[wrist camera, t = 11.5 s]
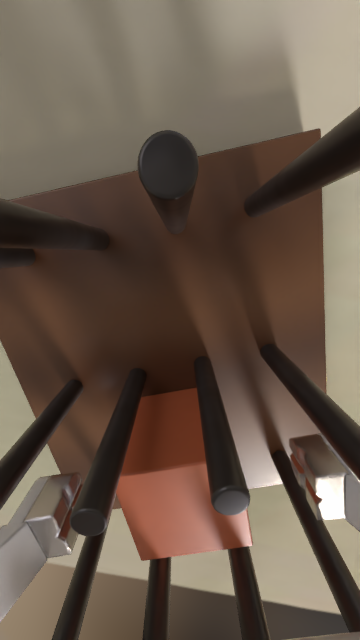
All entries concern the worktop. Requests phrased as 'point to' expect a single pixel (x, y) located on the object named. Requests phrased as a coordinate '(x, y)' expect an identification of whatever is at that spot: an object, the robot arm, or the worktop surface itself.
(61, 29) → the worktop surface
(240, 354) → the dish rack
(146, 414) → the block
